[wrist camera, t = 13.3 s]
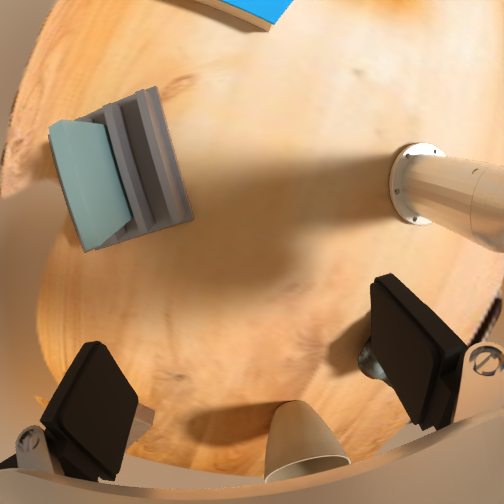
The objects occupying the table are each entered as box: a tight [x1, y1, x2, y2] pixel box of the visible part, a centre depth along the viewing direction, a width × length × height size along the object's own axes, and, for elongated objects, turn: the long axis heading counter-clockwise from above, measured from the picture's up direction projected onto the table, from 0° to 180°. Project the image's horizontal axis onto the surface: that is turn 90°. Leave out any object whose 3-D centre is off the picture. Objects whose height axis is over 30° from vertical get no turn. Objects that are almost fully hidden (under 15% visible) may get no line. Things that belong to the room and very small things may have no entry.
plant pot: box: [264, 401, 351, 483], centre depth 45 cm, size 15×15×16 cm
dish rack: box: [48, 86, 194, 253], centre depth 32 cm, size 15×18×5 cm
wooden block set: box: [125, 403, 155, 452], centre depth 47 cm, size 17×6×18 cm
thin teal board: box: [49, 120, 134, 250], centre depth 27 cm, size 2×12×13 cm, turn 15°
